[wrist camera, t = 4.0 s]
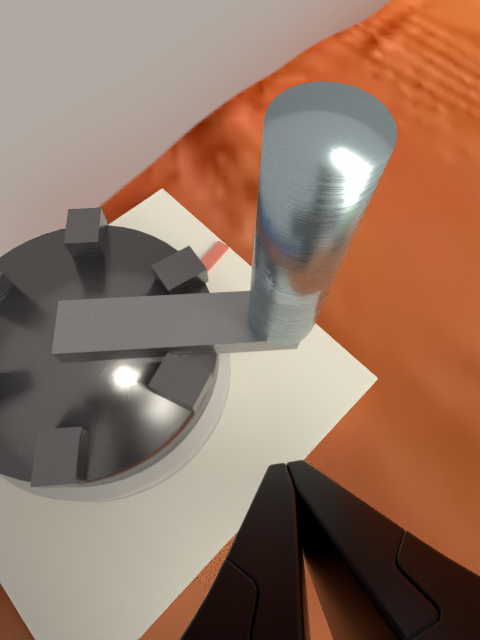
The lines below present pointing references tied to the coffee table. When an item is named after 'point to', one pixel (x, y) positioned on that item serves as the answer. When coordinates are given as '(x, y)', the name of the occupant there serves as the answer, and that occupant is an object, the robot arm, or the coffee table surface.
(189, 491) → the mounting plate
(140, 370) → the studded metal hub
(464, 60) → the coffee table surface
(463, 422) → the coffee table surface
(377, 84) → the coffee table surface
